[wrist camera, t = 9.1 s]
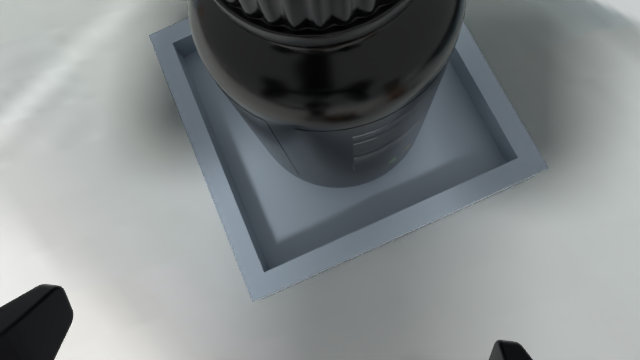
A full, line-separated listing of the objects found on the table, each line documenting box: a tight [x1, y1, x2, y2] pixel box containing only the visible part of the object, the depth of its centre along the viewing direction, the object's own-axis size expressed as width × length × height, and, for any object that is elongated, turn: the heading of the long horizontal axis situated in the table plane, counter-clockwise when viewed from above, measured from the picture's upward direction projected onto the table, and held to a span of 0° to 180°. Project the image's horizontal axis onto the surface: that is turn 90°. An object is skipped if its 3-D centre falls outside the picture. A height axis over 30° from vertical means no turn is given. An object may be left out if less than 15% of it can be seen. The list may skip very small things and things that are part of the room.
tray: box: [149, 18, 548, 302], centre depth 19 cm, size 12×12×2 cm
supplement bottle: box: [188, 0, 466, 188], centre depth 13 cm, size 7×7×12 cm
